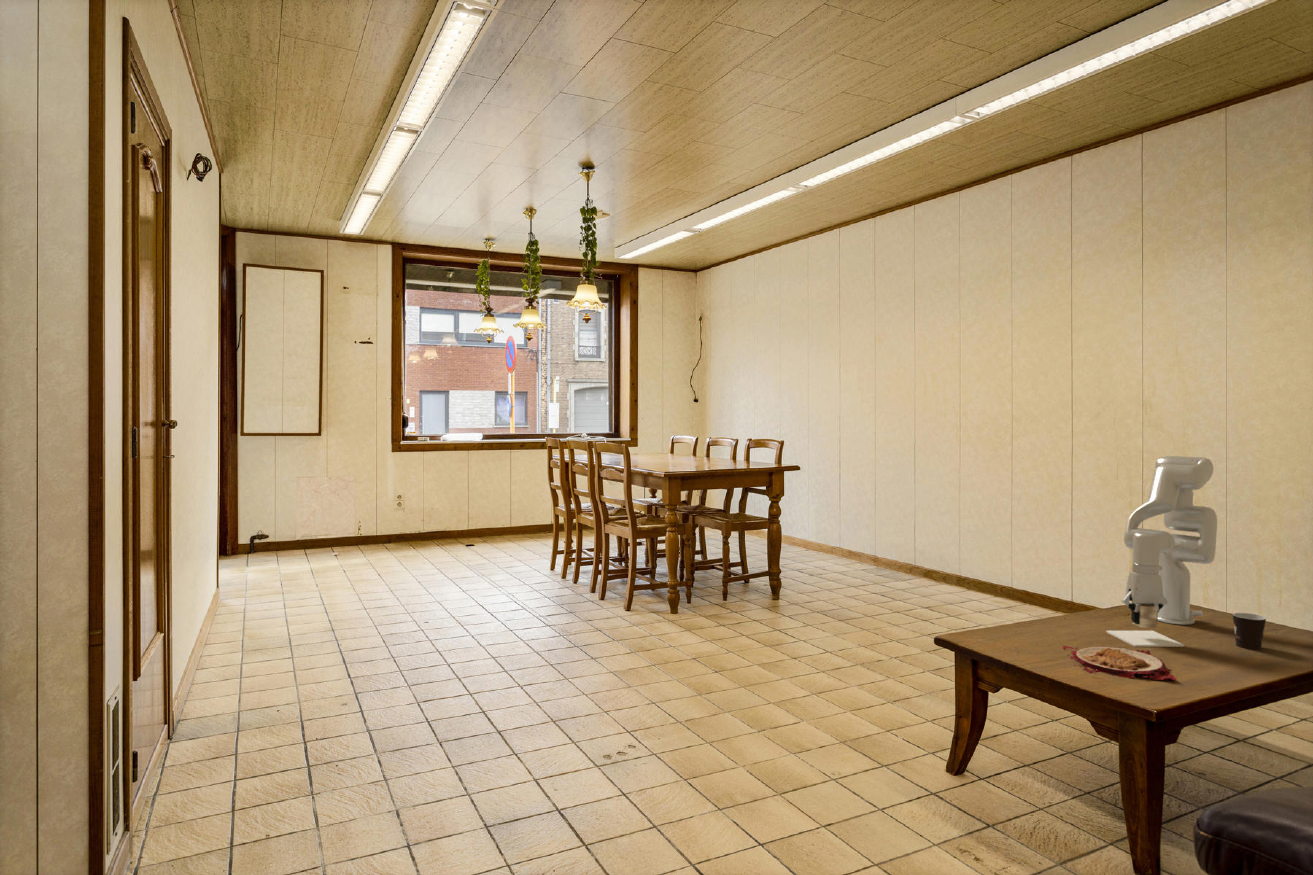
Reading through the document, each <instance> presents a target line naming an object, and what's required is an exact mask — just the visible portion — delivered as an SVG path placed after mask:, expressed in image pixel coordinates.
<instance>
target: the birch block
mask: <svg viewBox="0 0 1313 875" xmlns="http://www.w3.org/2000/svg"><path fill="white" fill-rule="evenodd" d="M1138 612H1139V613H1140V621H1139V624H1135V623H1133V622H1132V621H1131V623H1132V625H1134V626H1137V627H1138V628H1143V629H1144V628H1145V629H1156V628H1157V624H1158V620H1157V607H1156V606H1153V605H1151V604H1140V607H1139V610H1138Z"/></svg>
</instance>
